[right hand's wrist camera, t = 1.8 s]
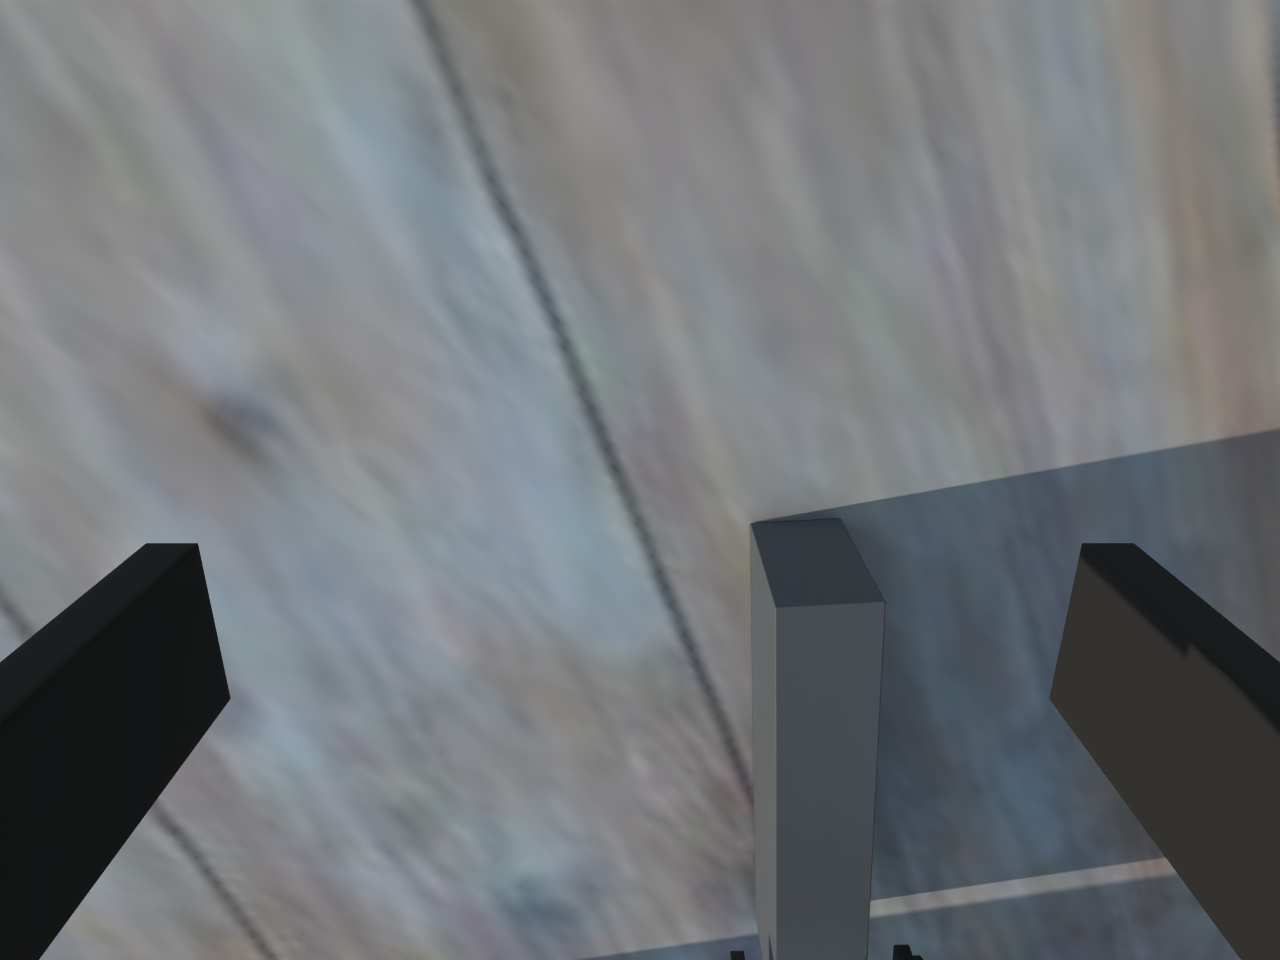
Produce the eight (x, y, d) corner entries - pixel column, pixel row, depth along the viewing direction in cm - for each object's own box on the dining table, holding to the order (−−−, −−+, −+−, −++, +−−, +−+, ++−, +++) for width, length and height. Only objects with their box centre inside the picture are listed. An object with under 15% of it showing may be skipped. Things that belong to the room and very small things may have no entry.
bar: (749, 522, 43) (775, 607, 35) (840, 517, 43) (885, 601, 35) (755, 910, 53) (775, 1046, 45) (829, 907, 53) (863, 1042, 45)
